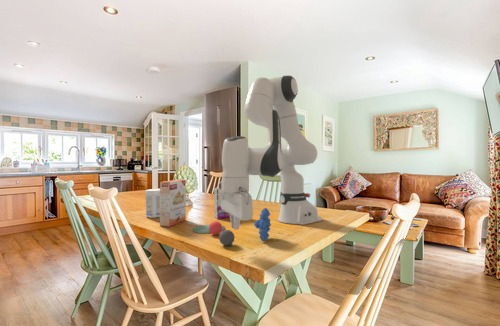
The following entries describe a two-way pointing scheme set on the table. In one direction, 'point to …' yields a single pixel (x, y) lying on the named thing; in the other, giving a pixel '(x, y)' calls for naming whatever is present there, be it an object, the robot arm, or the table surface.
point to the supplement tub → (153, 203)
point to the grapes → (263, 224)
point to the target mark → (204, 229)
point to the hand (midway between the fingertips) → (235, 228)
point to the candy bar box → (218, 211)
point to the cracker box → (172, 202)
